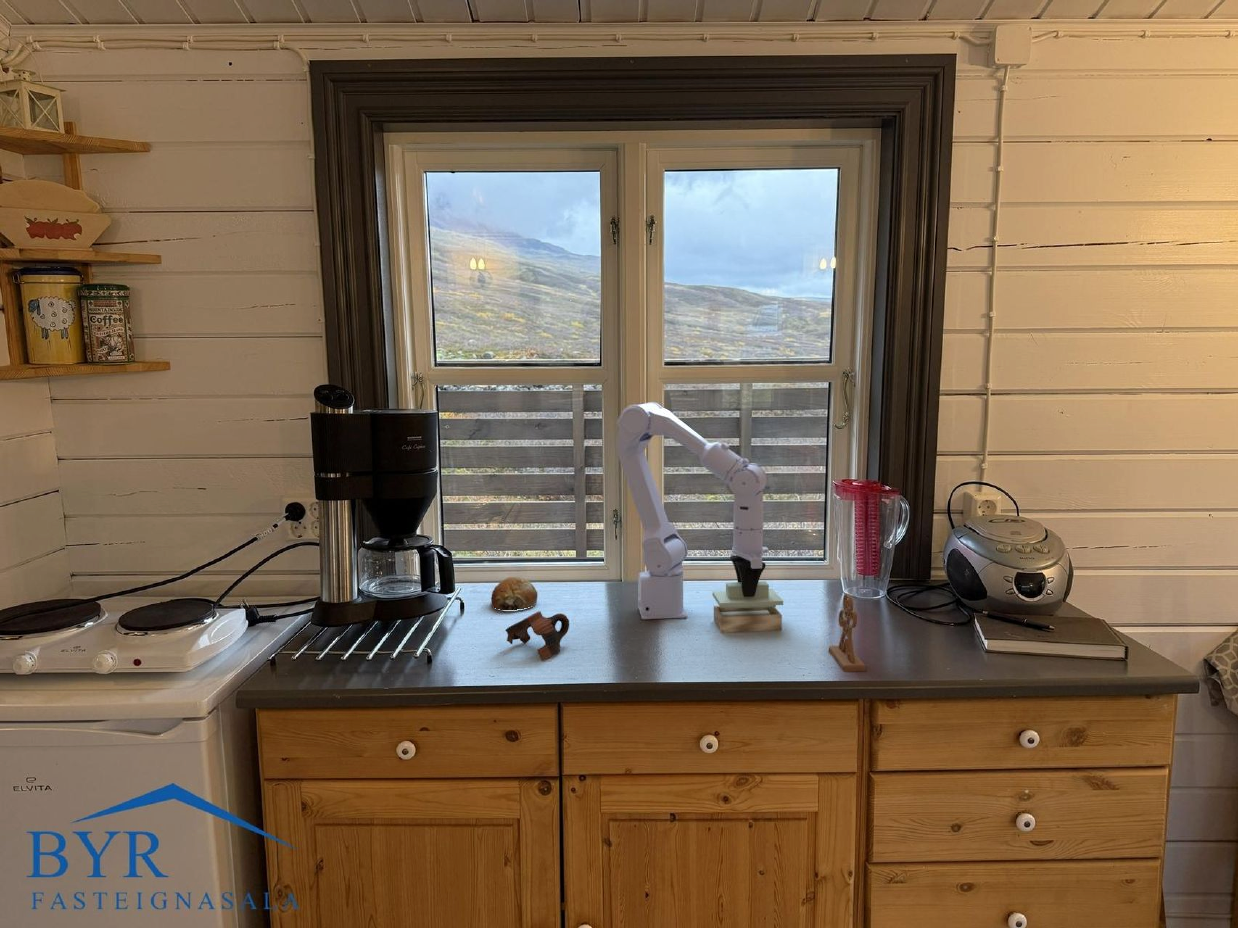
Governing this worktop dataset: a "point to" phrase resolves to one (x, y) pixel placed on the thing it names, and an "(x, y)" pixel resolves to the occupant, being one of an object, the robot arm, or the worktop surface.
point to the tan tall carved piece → (847, 640)
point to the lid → (737, 600)
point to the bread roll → (514, 594)
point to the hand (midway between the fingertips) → (747, 593)
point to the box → (747, 619)
